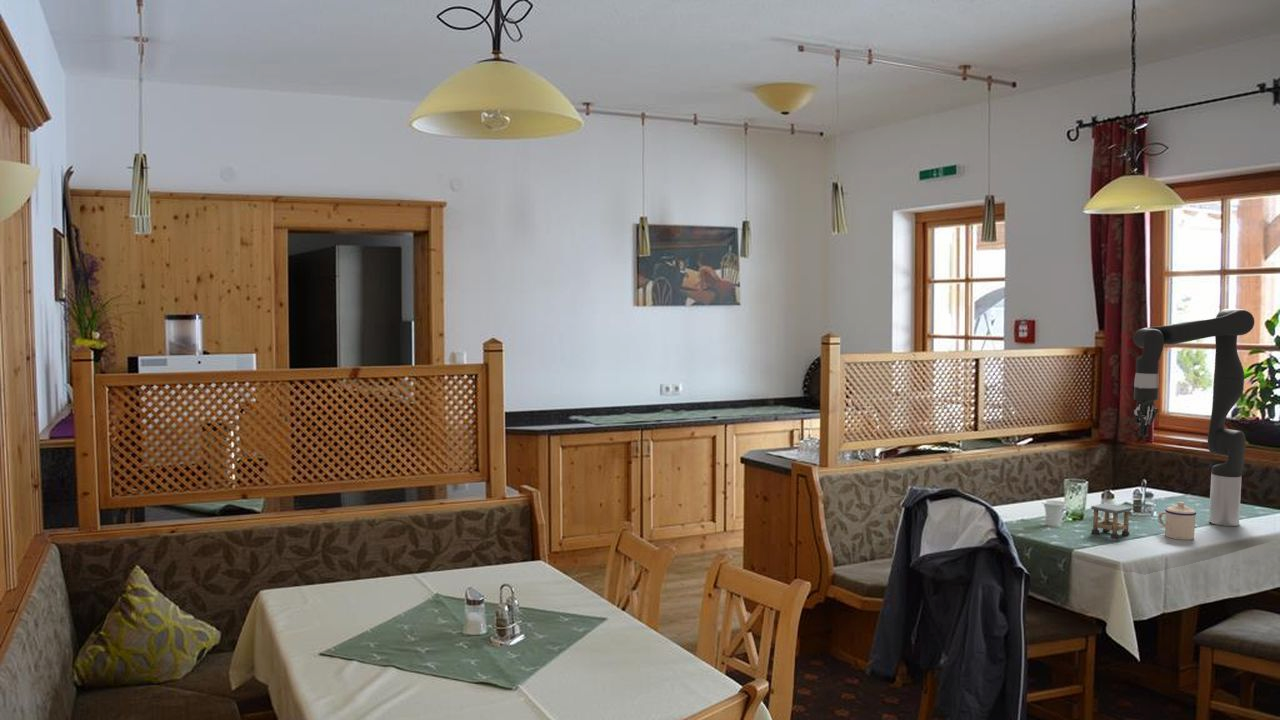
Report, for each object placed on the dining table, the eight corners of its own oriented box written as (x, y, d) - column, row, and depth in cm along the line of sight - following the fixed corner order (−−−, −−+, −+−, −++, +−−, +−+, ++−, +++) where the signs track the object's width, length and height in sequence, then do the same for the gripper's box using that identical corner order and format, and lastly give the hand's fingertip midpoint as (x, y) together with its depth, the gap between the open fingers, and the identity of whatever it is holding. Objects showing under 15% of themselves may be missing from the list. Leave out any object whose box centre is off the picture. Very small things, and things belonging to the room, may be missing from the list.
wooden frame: (1106, 503, 348) (1091, 506, 342) (1131, 507, 340) (1117, 511, 335) (1105, 529, 348) (1090, 533, 343) (1130, 535, 341) (1115, 538, 336)
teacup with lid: (1200, 538, 338) (1202, 503, 337) (1184, 541, 333) (1186, 506, 332) (1165, 530, 348) (1167, 496, 347) (1150, 533, 343) (1151, 499, 343)
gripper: (1145, 384, 361) (1143, 433, 363) (1125, 386, 354) (1123, 435, 355) (1167, 386, 355) (1164, 435, 357) (1146, 388, 348) (1144, 438, 349)
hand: (1143, 435), depth 356 cm, fingers closed
